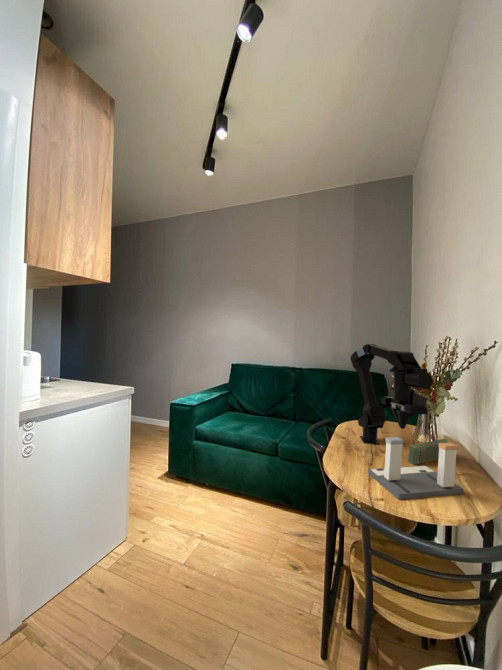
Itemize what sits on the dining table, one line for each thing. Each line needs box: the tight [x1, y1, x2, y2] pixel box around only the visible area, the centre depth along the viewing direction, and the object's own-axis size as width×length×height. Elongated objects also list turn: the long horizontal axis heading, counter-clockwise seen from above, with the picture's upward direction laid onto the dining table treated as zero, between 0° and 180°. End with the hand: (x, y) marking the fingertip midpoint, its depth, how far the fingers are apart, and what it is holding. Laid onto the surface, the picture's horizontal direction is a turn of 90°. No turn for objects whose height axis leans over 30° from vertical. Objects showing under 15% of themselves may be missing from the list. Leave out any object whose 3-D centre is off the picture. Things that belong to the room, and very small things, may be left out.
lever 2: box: [437, 442, 459, 487], centre depth 80 cm, size 2×4×12 cm, turn 102°
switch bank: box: [367, 465, 465, 500], centre depth 84 cm, size 14×22×2 cm, turn 102°
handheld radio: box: [407, 438, 449, 466], centre depth 102 cm, size 7×3×25 cm
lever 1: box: [384, 436, 404, 480], centre depth 82 cm, size 2×4×12 cm, turn 102°
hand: (402, 428), depth 98 cm, fingers closed
